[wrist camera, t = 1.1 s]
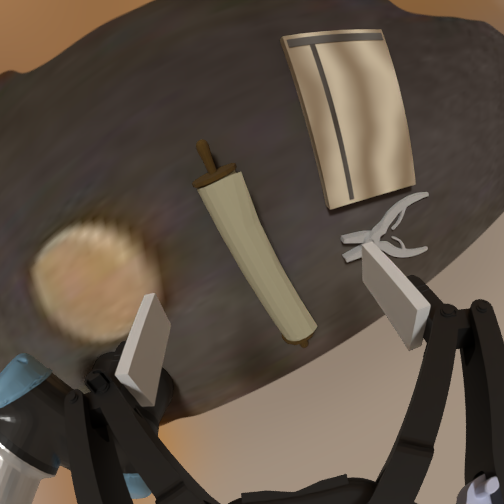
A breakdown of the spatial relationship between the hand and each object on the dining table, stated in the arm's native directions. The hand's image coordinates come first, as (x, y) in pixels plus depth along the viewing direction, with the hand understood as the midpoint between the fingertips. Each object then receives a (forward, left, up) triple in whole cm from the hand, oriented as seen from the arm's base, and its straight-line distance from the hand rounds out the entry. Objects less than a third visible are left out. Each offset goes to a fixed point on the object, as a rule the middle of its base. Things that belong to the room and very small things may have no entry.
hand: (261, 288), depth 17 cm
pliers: (+18, -10, -18) cm, 28 cm away
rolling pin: (0, -7, -18) cm, 19 cm away
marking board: (+16, +7, -17) cm, 25 cm away
